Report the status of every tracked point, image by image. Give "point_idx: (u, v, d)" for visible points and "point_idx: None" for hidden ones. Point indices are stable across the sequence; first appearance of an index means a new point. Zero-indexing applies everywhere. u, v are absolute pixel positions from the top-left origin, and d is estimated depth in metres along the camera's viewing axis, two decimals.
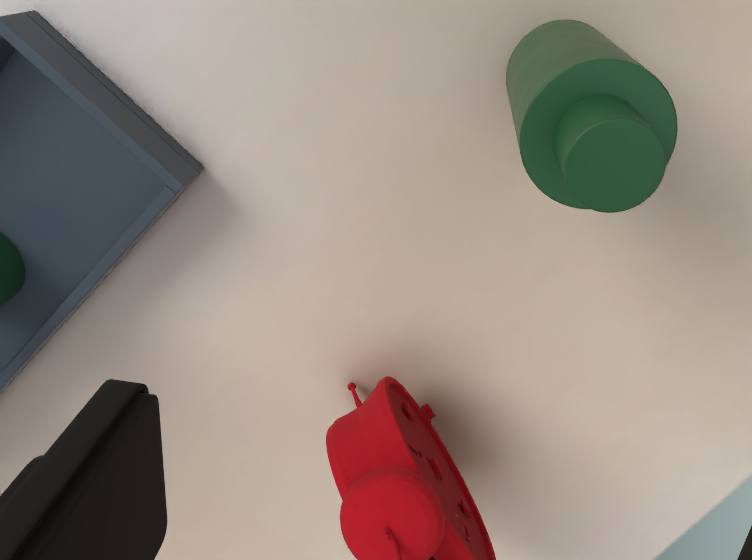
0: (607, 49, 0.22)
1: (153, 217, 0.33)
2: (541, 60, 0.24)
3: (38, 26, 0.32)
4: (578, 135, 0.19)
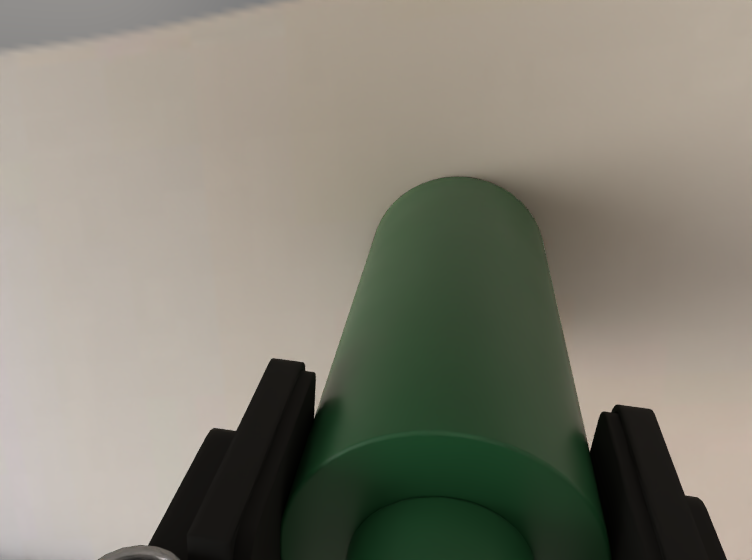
0: (371, 360, 0.11)
1: None
2: None
3: None
4: None
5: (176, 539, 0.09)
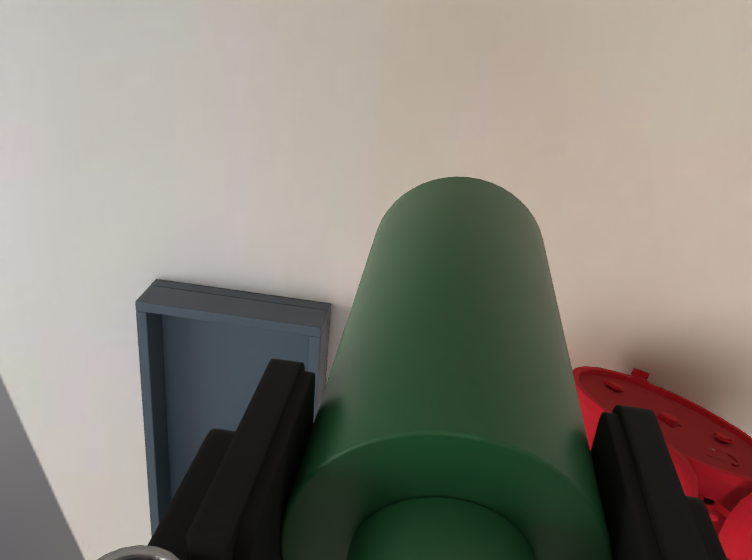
0: (372, 360, 0.11)
1: (317, 364, 0.38)
2: None
3: (164, 287, 0.40)
4: None
5: (176, 539, 0.09)
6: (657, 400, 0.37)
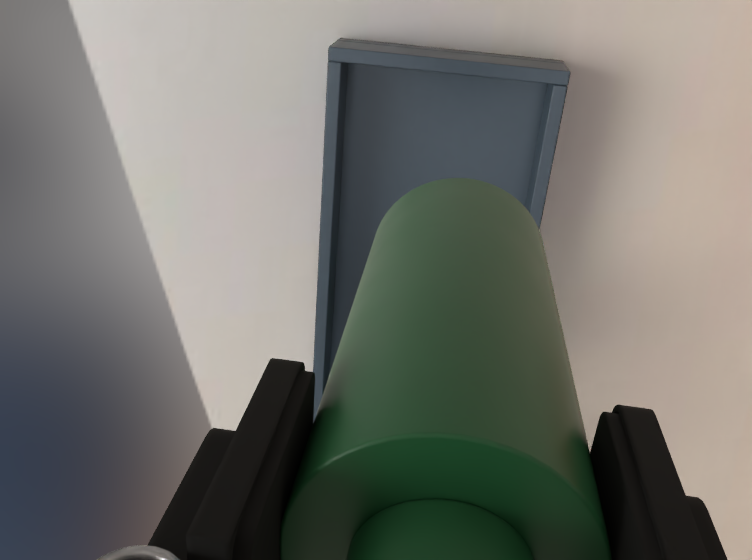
0: (371, 362, 0.11)
1: (558, 126, 0.30)
2: None
3: (354, 43, 0.32)
4: None
5: (175, 539, 0.09)
6: None
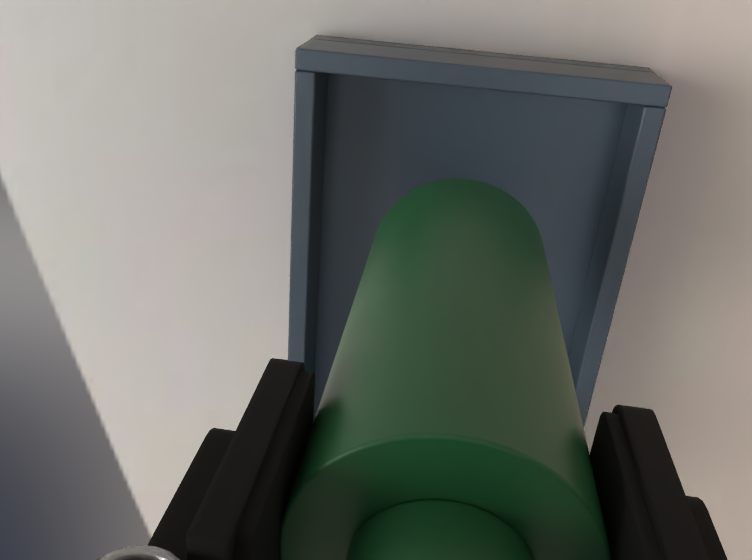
0: (371, 363, 0.11)
1: (648, 169, 0.20)
2: None
3: (336, 42, 0.21)
4: None
5: (175, 539, 0.09)
6: None
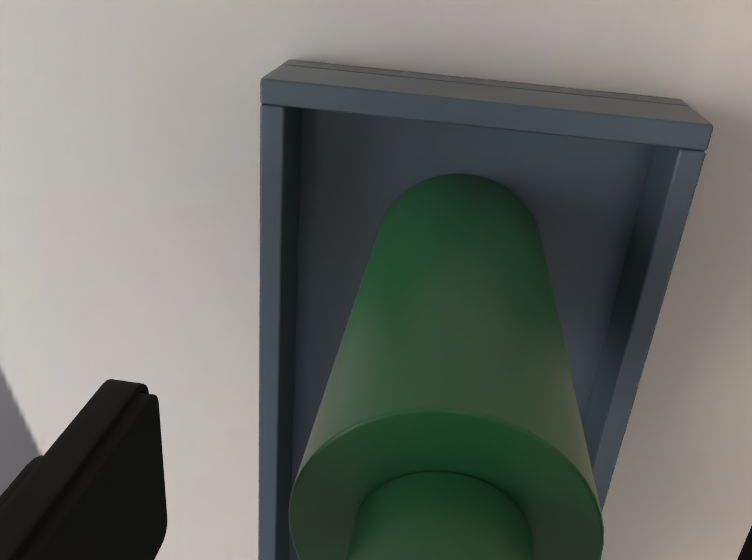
0: (376, 346, 0.12)
1: (683, 223, 0.17)
2: None
3: (312, 69, 0.18)
4: None
5: None
6: None
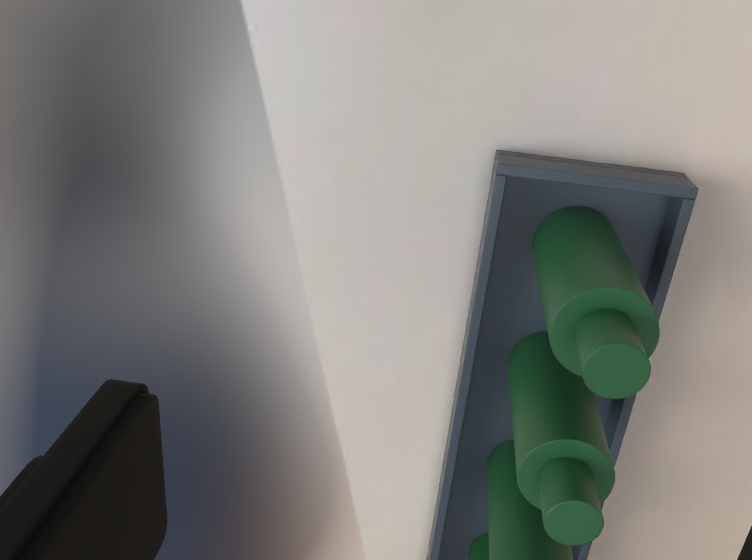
0: (574, 272, 0.32)
1: (684, 230, 0.37)
2: (544, 291, 0.34)
3: (511, 156, 0.38)
4: (582, 369, 0.28)
5: None
6: None
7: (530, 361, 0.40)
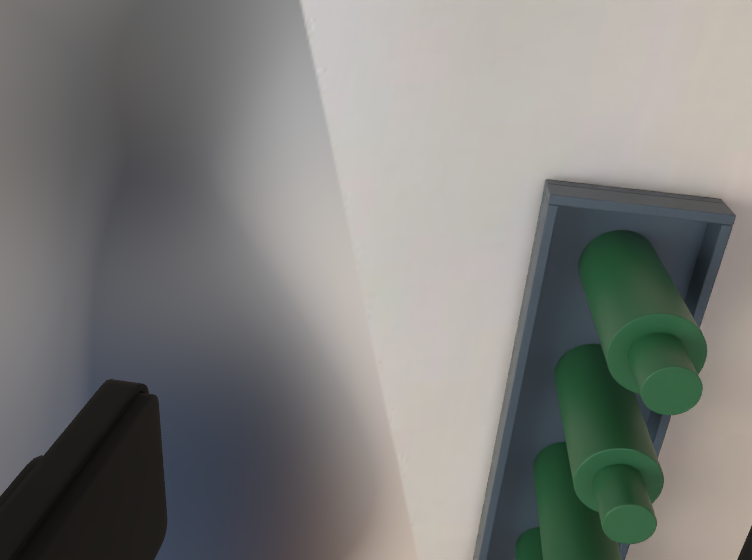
0: (627, 298, 0.35)
1: (722, 253, 0.40)
2: (597, 313, 0.37)
3: (560, 185, 0.42)
4: (641, 389, 0.32)
5: None
6: None
7: (578, 372, 0.44)
